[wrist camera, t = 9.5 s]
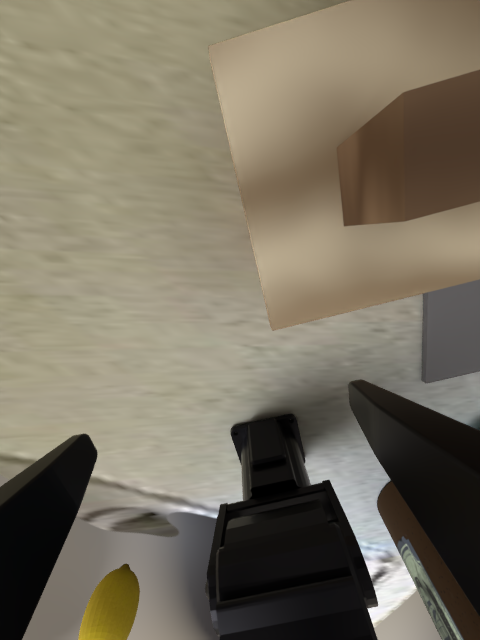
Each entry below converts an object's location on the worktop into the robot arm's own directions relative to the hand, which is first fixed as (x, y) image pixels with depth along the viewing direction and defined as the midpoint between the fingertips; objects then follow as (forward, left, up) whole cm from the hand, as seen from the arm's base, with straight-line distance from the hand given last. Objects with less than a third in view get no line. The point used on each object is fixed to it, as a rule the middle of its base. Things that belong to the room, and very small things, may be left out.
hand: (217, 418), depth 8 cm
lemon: (-30, +22, -12) cm, 39 cm away
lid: (+6, -9, -7) cm, 13 cm away
